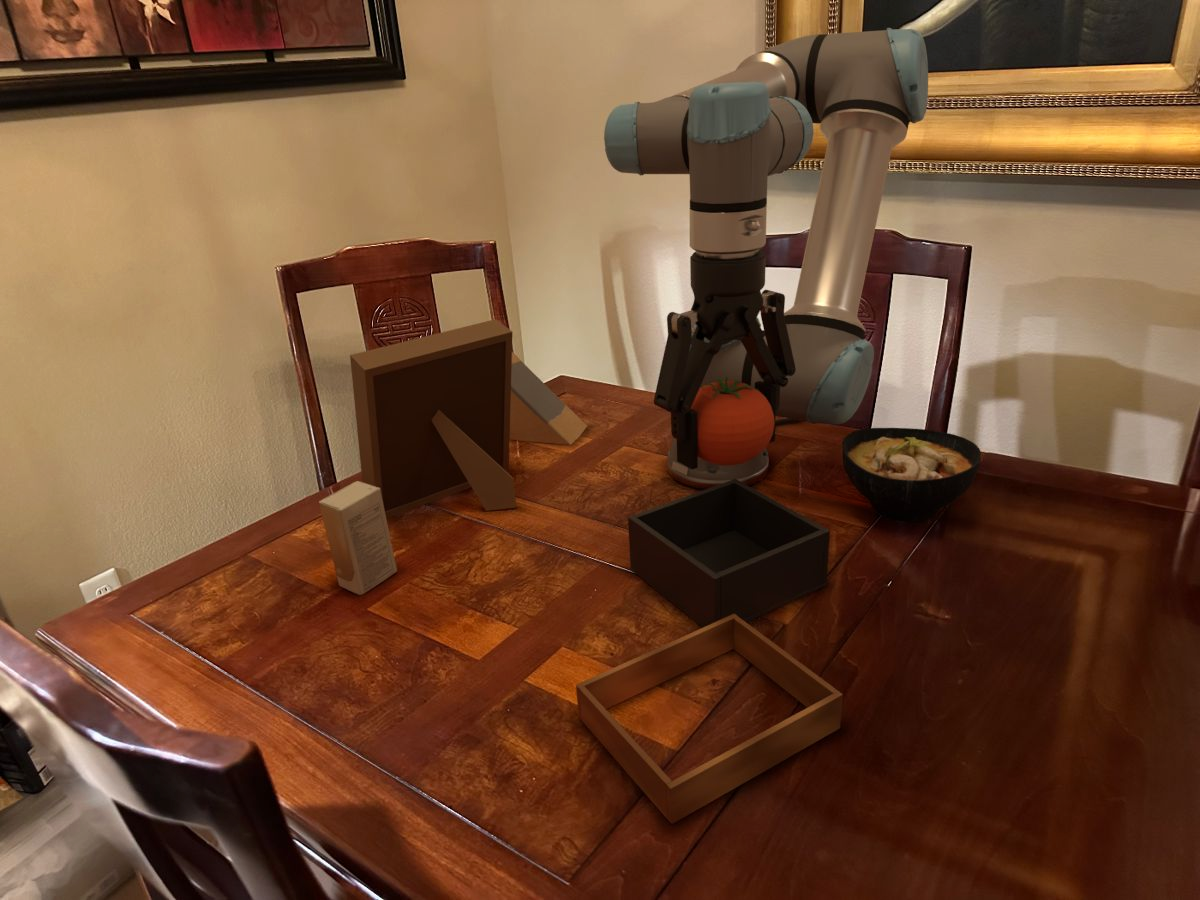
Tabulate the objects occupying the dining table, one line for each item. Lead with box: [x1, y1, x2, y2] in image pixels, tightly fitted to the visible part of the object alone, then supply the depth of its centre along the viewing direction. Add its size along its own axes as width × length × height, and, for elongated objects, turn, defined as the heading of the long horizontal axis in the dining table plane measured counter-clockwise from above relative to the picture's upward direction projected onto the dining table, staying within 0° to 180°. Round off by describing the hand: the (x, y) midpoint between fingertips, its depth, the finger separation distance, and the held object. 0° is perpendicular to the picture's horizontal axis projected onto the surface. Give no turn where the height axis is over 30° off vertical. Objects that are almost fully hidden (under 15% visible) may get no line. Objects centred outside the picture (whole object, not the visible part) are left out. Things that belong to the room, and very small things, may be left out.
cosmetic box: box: [318, 480, 398, 596], centre depth 103 cm, size 6×4×12 cm
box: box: [575, 614, 844, 825], centre depth 78 cm, size 19×15×4 cm
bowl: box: [841, 427, 982, 523], centre depth 112 cm, size 17×17×10 cm
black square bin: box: [627, 479, 831, 628], centre depth 100 cm, size 17×17×8 cm
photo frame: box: [349, 318, 517, 519], centre depth 117 cm, size 15×22×25 cm
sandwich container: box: [510, 351, 588, 446], centre depth 142 cm, size 9×15×15 cm, turn 71°
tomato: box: [691, 377, 774, 465], centre depth 92 cm, size 10×10×10 cm
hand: (726, 451), depth 94 cm, fingers closed on tomato, 10 cm apart
